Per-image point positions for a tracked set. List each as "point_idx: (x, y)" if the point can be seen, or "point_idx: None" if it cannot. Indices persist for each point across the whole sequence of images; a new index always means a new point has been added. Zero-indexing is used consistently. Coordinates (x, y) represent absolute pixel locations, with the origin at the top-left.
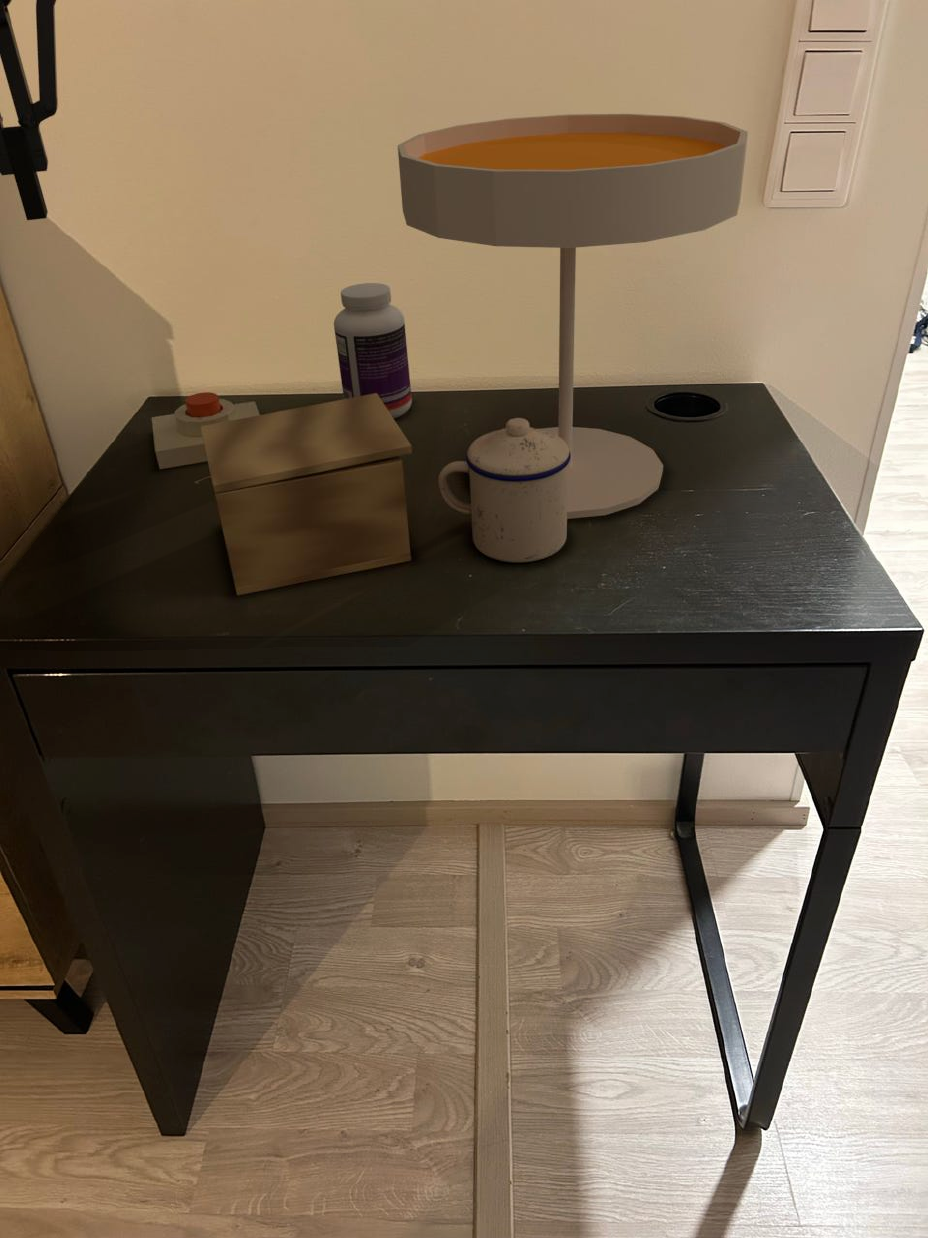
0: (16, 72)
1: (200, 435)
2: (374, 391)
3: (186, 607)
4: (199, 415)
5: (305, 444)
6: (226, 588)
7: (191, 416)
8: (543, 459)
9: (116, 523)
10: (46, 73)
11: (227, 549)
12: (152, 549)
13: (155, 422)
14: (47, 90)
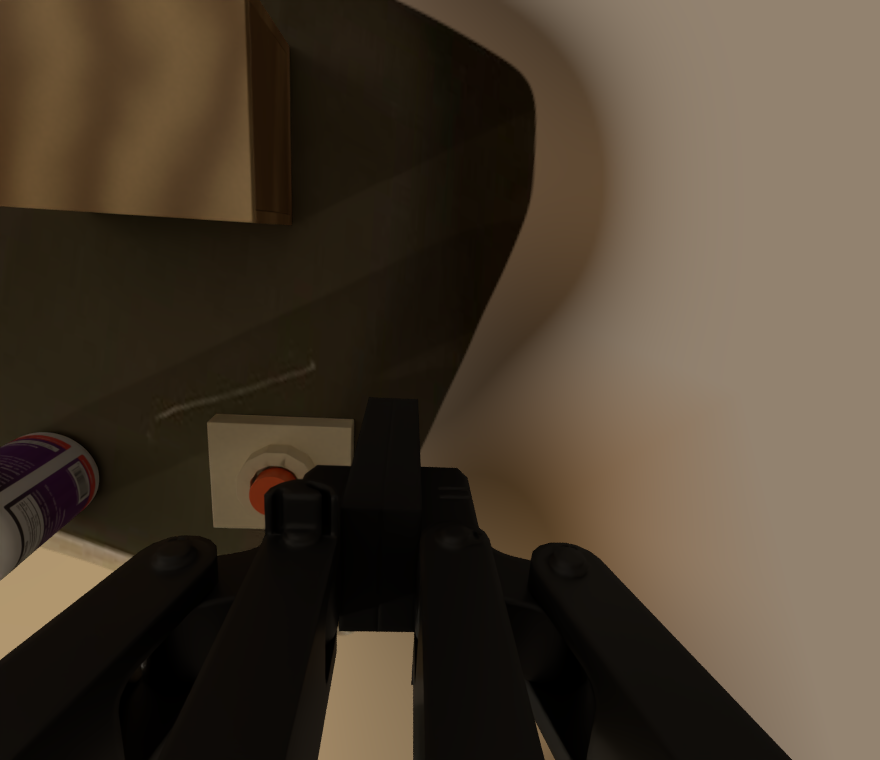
0: (224, 701)
1: (291, 445)
2: (30, 448)
3: (349, 49)
4: (282, 470)
5: (89, 50)
6: (300, 72)
7: (294, 477)
8: None
9: (412, 299)
10: (35, 684)
11: (272, 20)
12: (377, 212)
13: None
14: (113, 606)
